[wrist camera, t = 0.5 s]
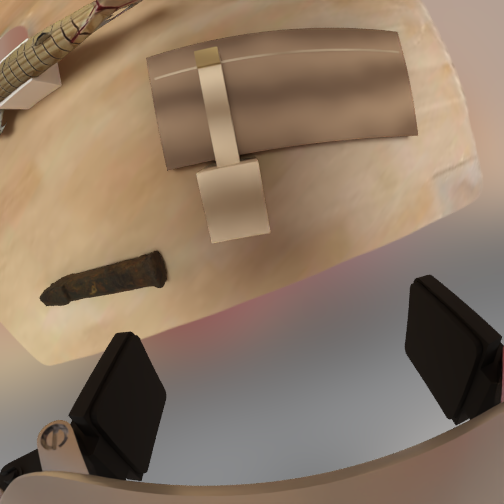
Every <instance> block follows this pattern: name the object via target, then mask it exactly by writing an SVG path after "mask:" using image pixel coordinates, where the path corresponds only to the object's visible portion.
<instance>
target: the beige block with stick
mask: <svg viewBox="0 0 504 504" xmlns="http://www.w3.org/2000/svg"><path fill="white" fill-rule="evenodd" d="M194 55H195V60H196V66H197V68H198V72H199V77H200V83H201V88H202V93H203V99H204V104H205V109H206V114H207V119H208V124H209V129H210V134H211V140H212V145H213V150H214V155H215V159H216V165H212V166H207V167H205V168H204V169H202V170H201V171H199V172H198V173H196V176H197V181H198V185H199V190H200V194H201V199H202V203H203V208H204V212H205V216H206V221H207V225H208V229H209V234H210V238H211V242H212V243H217V242H223V241H228V240H234V239H239V238H245V237H250V236H256V235H262V234H267V233H271V232H270V226H269V220H268V214H267V208H266V202H265V197H264V191H263V185H262V180H261V174H260V169H259V163H258V160H257V159H256V157H253V158H247V159H242V160H240V158H239V152H238V147H237V142H236V137H235V132H234V127H233V121H232V116H231V111H230V106H229V101H228V96H227V91H226V85H225V80H224V75H223V70H222V65H221V60H220V55H219V51H218V47H212V48H207V49H203V50H198V51H194Z"/></svg>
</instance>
